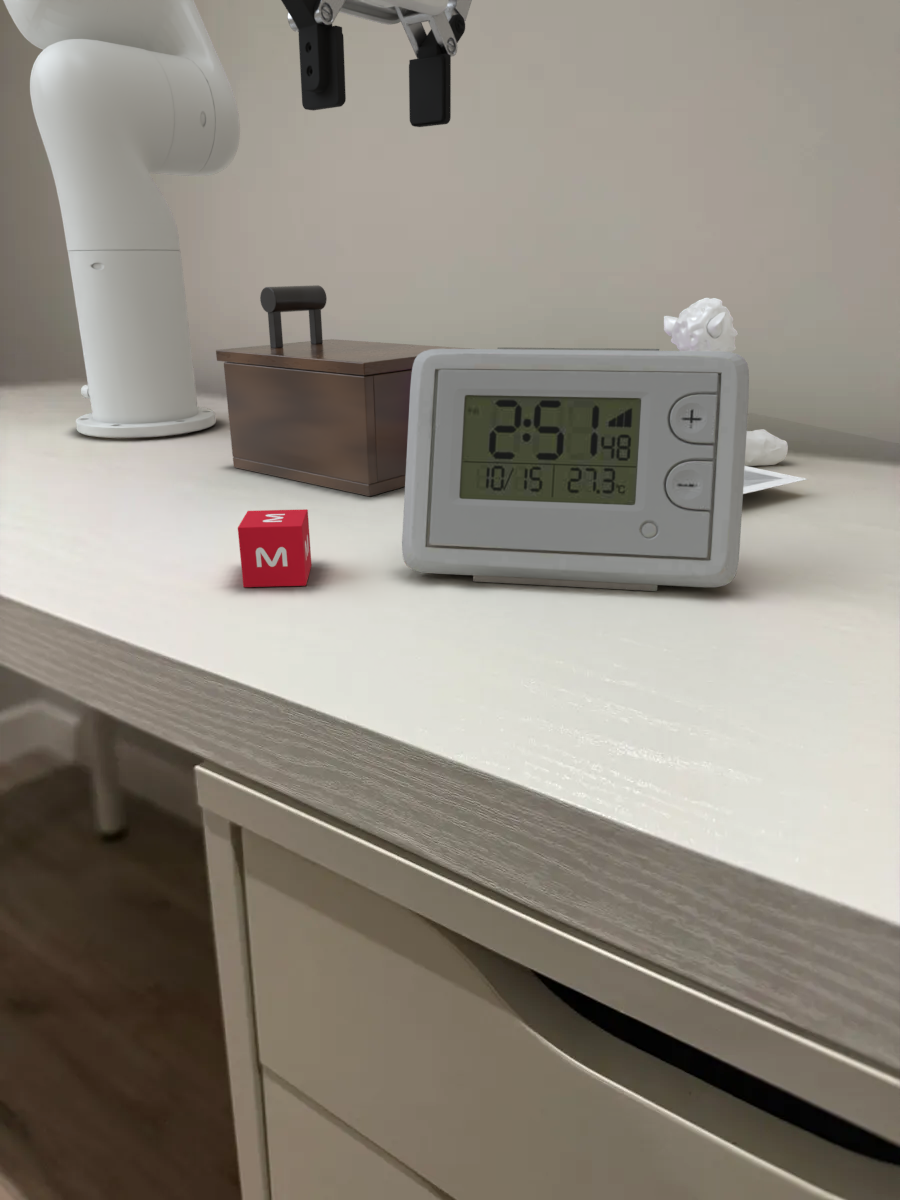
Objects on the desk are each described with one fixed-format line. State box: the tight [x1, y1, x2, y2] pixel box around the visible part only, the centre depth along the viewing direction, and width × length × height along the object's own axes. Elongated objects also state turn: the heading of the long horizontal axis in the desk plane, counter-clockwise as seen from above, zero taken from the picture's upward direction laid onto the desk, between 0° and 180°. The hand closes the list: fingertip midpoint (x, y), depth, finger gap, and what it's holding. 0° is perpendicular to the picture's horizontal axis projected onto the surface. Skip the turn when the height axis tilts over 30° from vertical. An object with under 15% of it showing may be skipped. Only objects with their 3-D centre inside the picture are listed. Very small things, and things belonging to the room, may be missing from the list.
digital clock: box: [401, 347, 750, 592], centre depth 42 cm, size 16×9×11 cm, turn 69°
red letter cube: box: [237, 508, 313, 588], centre depth 43 cm, size 3×3×3 cm
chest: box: [223, 362, 412, 497], centre depth 66 cm, size 15×12×8 cm
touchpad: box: [743, 466, 809, 495], centre depth 57 cm, size 8×15×2 cm, turn 125°
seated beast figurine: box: [663, 297, 789, 467], centre depth 66 cm, size 10×9×12 cm
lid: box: [215, 284, 471, 376], centre depth 64 cm, size 15×12×5 cm
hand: (380, 116), depth 56 cm, fingers open, 9 cm apart
